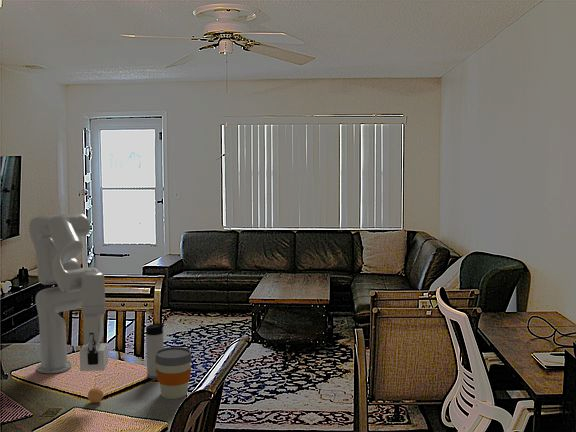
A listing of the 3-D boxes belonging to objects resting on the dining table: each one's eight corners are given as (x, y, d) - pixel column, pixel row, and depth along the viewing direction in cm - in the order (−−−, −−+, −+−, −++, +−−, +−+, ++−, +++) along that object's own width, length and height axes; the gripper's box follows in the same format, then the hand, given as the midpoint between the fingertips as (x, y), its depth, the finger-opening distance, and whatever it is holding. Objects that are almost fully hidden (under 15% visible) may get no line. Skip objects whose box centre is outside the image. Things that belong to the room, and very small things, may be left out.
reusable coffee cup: (162, 403, 225) (161, 360, 223) (151, 390, 236) (150, 349, 234) (197, 396, 231) (196, 354, 229) (185, 384, 242) (184, 344, 240)
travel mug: (161, 379, 247) (160, 327, 244) (144, 378, 248) (143, 326, 246) (167, 373, 253) (166, 322, 250) (151, 372, 254) (149, 321, 252)
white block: (84, 362, 228) (84, 343, 227) (108, 362, 229) (107, 343, 228) (80, 370, 220) (79, 351, 219) (104, 370, 221) (103, 350, 220)
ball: (104, 385, 228) (104, 399, 229) (89, 385, 228) (89, 399, 228) (101, 391, 223) (101, 405, 224) (86, 391, 223) (86, 405, 223)
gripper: (87, 302, 230) (89, 351, 232) (76, 316, 213) (78, 369, 215) (109, 302, 231) (111, 351, 233) (100, 315, 214) (102, 368, 216)
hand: (95, 359), depth 224 cm, fingers closed on white block, 7 cm apart
